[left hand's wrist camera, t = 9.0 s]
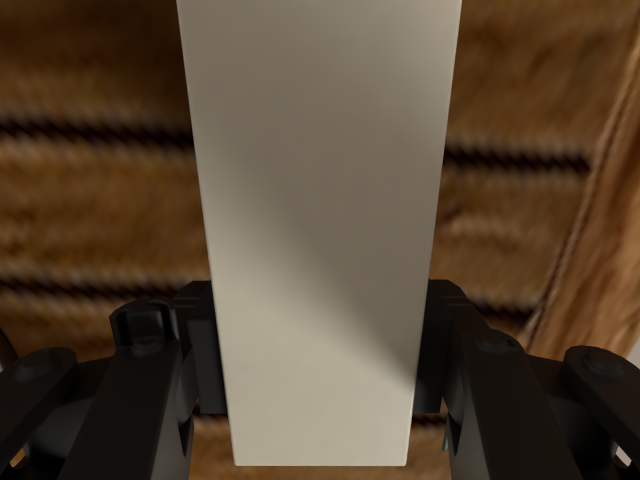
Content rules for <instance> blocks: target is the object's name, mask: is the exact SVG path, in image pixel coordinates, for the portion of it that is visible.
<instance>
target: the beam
mask: <svg viewBox="0 0 640 480" xmlns="http://www.w3.org/2000/svg"><path fill="white" fill-rule="evenodd" d="M176 2H177V10H178V18H179V26H180V34H181V42H182V50H183V58H184V66H185V74H186V82H187V90H188V98H189V106H190V114H191V122H192V130H193V138H194V146H195V154H196V162H197V170H198V178H199V186H200V194H201V202H202V210H203V218H204V226H205V234H206V242H207V250H208V258H209V266H210V274H211V282H212V290H213V298H214V306H215V314H216V322H217V330H218V338H219V346H220V354H221V362H222V370H223V378H224V386H225V394H226V402H227V410H228V418H229V426H230V434H231V442H232V450H233V458H234V464H235V465H250V466H404V465H406V460H407V451H408V443H409V435H410V427H411V418H412V410H413V402H414V393H415V385H416V377H417V369H418V360H419V352H420V344H421V335H422V327H423V319H424V311H425V302H426V294H427V286H428V277H429V269H430V261H431V253H432V244H433V236H434V228H435V219H436V211H437V203H438V195H439V186H440V178H441V170H442V161H443V153H444V145H445V137H446V128H447V120H448V112H449V103H450V95H451V87H452V79H453V70H454V62H455V54H456V46H457V37H458V29H459V21H460V12H461V4H462V0H176Z"/></svg>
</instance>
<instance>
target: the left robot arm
mask: <svg viewBox="0 0 640 480" xmlns="http://www.w3.org/2000/svg"><path fill="white" fill-rule="evenodd" d="M109 320H110V324H111V328H112V332H113V336H114V340H115V344H116V348H117V349H116V351H115V354H114V356H110V357H107V358H102V359H97V360H92V361H87V362H82V363H78V361H77V358H76V354H75V352H73V351H72V350H71V349H70V348H63V347H55V348H46V349H41V350H37V351H34V352H32V353H30V354H28V355H26V356H24V357H21V358H19V359H17V357H16V355H15V353H14V352H13V350H12V348H11V347H10V345H9V344H8V342H7V341H6V339H5V338H4V337H3V335H2V334H1V333H0V480H188V477H189V468H190V460H191V451H192V442H193V433H194V423H193V417H192V410H193V408H194V405H195V403H196V401H197V398H199V405H200V411H201V413H228V410H227V402H226V394H225V386H224V378H223V370H222V362H221V354H220V346H219V338H218V330H217V322H216V314H215V306H214V298H213V290H212V282H211V280H210V281H192V282H190V283H189V284H187V285H186V286H184V287H182V288H181V289H180V290H179V292H178V293H177V294H176V296H175V297H174V300H172V301H169V300H167V299H163V298H146V299H140V300H136V301H133V302H130V303H127V304H125V305H123V306H121V307H120V308H118V309H116V310H115V311H114V312H113V313H112V314H111V315H110V316H109ZM442 396H443V398H444V400H445V403H446V405H447V408H448V410H449V411H448V417H447V423H446V429H445V435H444V441H443V447H442V451H447V448H448V450H449V459H450V468H451V476H452V480H640V369H639V368H637V367H636V366H635V365H633V364H632V363H630V362H629V361H627V360H626V359H624V358H623V357H621V356H619V355H617V354H614V353H612V352H611V351H609V350H606V349H600V348H598V347H592V346H582V345H580V346H574V347H570V348H569V349H568V350H567V351H566V352H565V356H564V359H563V362H561V361H556V360H551V359H546V358H541V357H536V356H532V355H528V354H526V353H525V351H524V349H523V347H522V346H521V345H520V343H519V342H518V341H517V340H515V339H514V338H512V337H511V336H510V335H508V334H505V333H503V332H501V331H498V330H495V329H490V327H489V326H488V325H487V323H486V322H485V321H484V319H483V318H482V316H481V315H480V314H479V312H478V311H477V310H476V308H475V307H474V306H472V303H471V302H470V300H469V299H468V298H467V296H466V295H465V294H464V292H463V291H462V290H461V288H460V287H458V286H457V285H455V284H454V283H452V282H451V281H449V280H430V279H429V278H428V286H427V294H426V302H425V311H424V319H423V327H422V335H421V344H420V352H419V360H418V369H417V377H416V385H415V393H414V402H413V410H412V413H440V407H441V400H442ZM618 446H619V447H620V448H621V449H622V450H623V451H624V452H625V453H626V454H627V456H628V457H629V458H630V459H631V460H632V461H631V463H630V465H629V466H627V465H625V464H624V463H623V462H622V461H621V460H620V458H619V457H618V456H617V455H616V454H615V453H616V451H617V448H618ZM21 448H23V450H24V453H25V456H24V457H23V459H22V460H21V461H20V462H19V463H18V464H17V465H16V466H14V467H12V466H11V464H10V461H11V460H12V459H13V458H14V456H15V455H16V454H17V453H18V452H19V451H20V450H21Z"/></svg>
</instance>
